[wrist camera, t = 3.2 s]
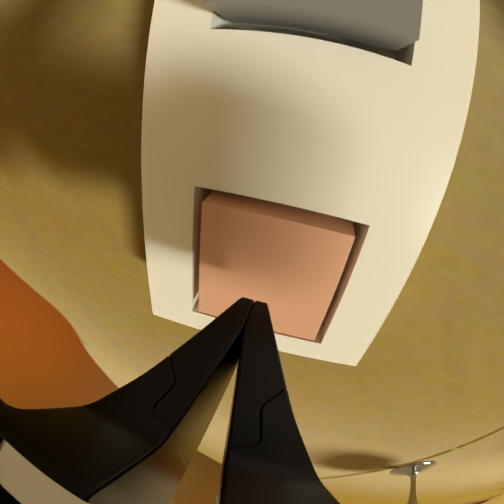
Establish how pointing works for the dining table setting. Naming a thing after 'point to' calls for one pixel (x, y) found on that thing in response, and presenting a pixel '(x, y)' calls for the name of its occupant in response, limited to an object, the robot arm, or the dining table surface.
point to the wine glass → (413, 476)
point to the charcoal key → (333, 18)
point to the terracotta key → (271, 259)
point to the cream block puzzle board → (302, 148)
